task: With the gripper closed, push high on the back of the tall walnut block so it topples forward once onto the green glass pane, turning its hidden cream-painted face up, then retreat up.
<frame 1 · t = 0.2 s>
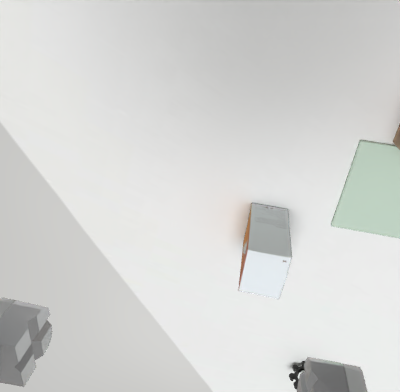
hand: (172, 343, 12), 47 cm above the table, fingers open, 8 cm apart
valve: (309, 378, 82), on the table
green glass pane: (393, 193, 58), on the table
small box: (265, 224, 65), on the table
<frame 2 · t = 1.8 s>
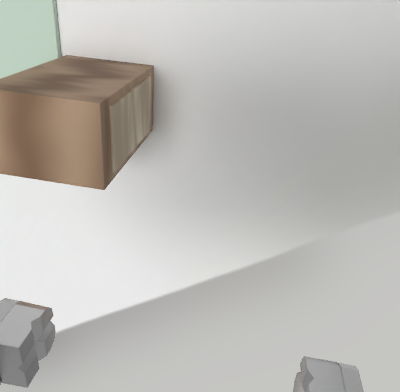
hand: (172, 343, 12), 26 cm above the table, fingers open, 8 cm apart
walnut block: (110, 94, 35), on the table
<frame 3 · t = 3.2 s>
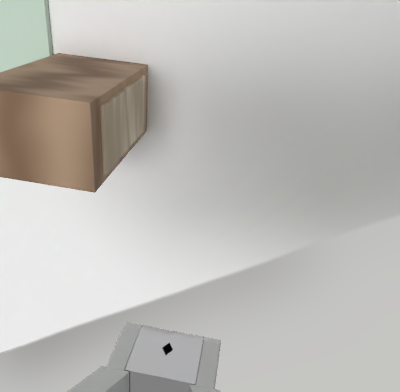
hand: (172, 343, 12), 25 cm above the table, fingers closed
walnut block: (103, 93, 34), on the table
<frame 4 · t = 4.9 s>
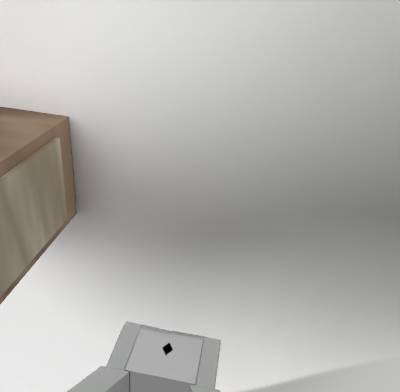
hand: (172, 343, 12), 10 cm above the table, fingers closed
walnut block: (6, 157, 22), on the table
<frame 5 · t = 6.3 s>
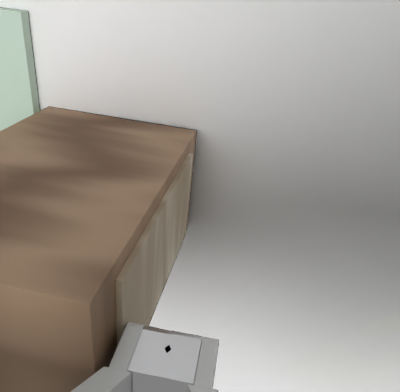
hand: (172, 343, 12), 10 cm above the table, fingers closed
walnut block: (121, 170, 21), on the table, touching gripper
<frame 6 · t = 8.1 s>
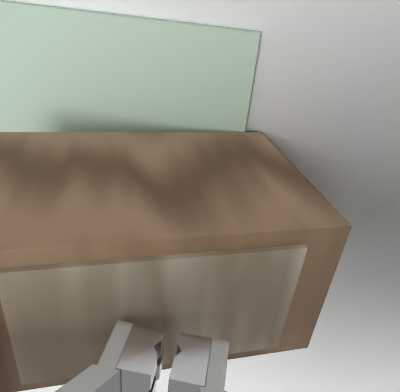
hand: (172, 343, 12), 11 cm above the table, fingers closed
green glass pane: (105, 158, 21), on the table
walnut block: (282, 228, 17), point 4 cm above the table, tilted 67°, touching gripper, green glass pane
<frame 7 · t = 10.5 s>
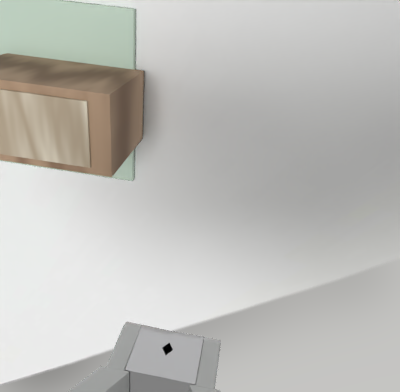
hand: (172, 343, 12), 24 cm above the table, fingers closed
green glass pane: (53, 92, 34), on the table
walnut block: (128, 120, 29), point 5 cm above the table, tilted 90°, touching green glass pane
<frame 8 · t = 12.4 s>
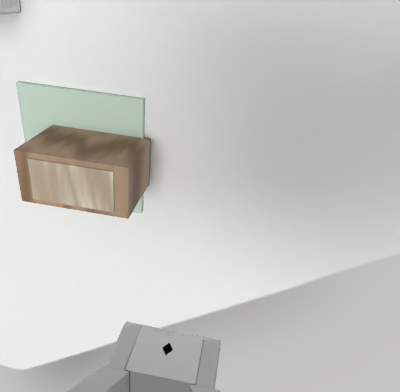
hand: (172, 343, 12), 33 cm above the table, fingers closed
green glass pane: (84, 150, 47), on the table
walnut block: (139, 177, 42), point 5 cm above the table, tilted 90°, touching green glass pane
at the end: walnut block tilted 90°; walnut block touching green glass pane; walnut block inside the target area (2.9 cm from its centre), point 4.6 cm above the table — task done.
